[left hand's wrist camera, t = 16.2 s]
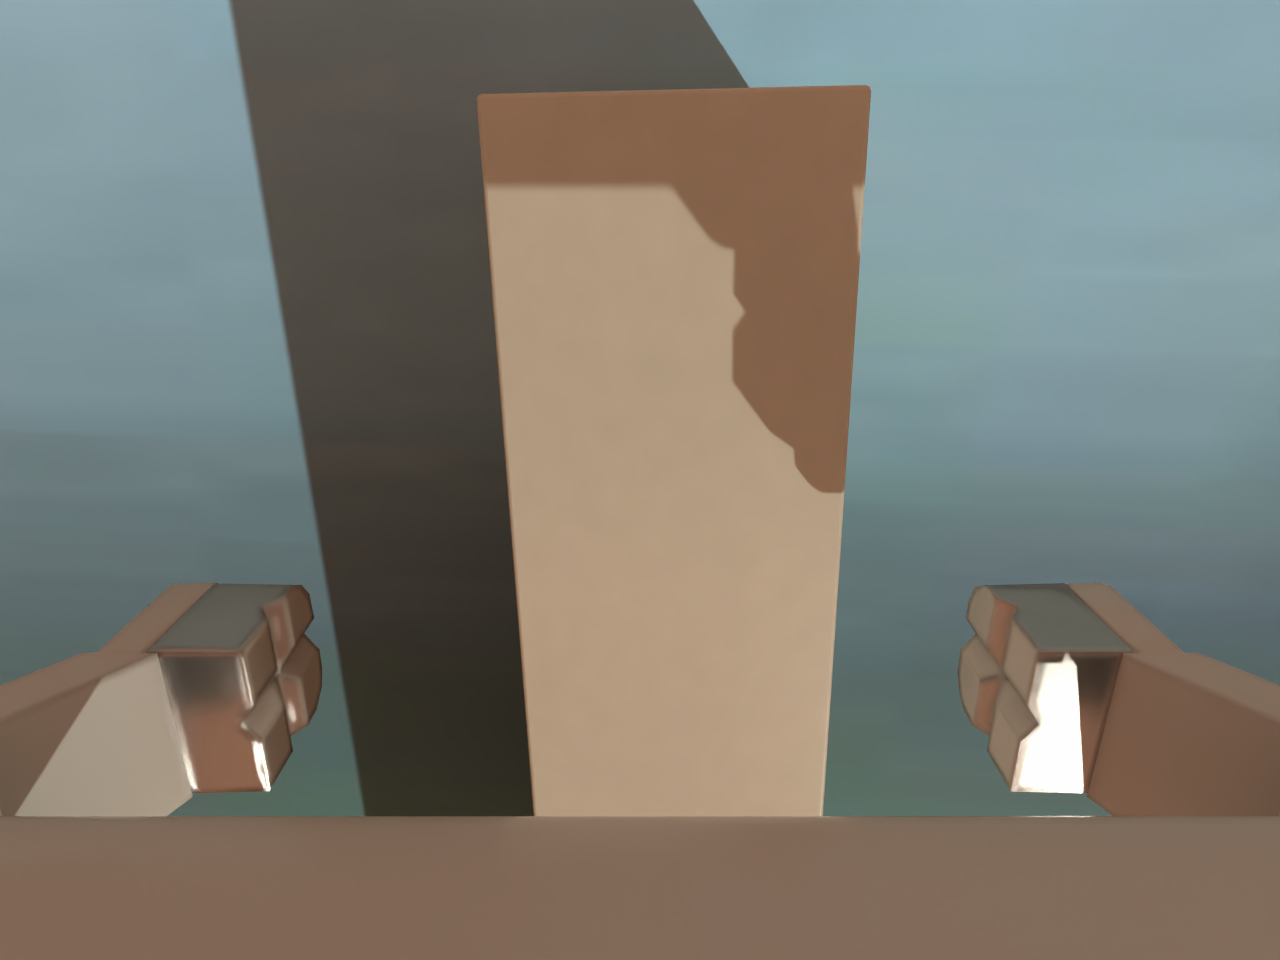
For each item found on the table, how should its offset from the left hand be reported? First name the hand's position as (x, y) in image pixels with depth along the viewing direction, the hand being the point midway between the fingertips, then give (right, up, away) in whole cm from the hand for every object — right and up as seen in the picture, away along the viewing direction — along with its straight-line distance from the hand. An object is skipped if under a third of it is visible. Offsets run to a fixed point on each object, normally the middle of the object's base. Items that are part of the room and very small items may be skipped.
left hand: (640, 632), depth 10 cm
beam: (+1, -22, +18) cm, 28 cm away
